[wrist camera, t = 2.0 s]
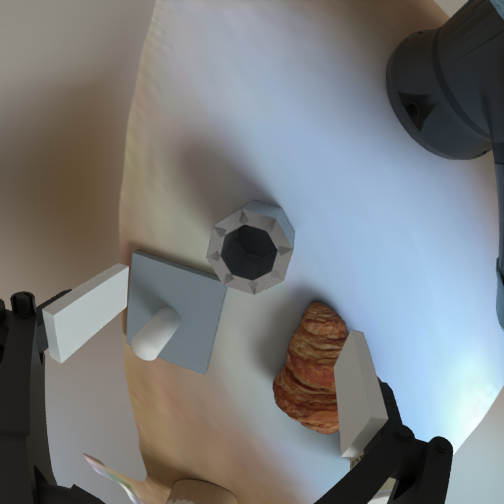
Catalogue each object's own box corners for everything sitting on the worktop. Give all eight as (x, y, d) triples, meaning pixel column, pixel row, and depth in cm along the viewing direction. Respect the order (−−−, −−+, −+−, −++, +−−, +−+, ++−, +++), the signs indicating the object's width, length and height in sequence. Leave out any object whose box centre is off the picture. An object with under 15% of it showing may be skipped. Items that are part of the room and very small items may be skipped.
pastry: (237, 370, 37) (224, 411, 30) (317, 292, 33) (321, 328, 25) (325, 425, 38) (326, 465, 31) (405, 364, 34) (421, 404, 26)
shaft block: (137, 249, 35) (98, 271, 27) (229, 279, 34) (208, 312, 26) (130, 339, 39) (100, 371, 31) (207, 369, 38) (188, 409, 30)
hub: (236, 194, 31) (218, 202, 24) (300, 213, 30) (300, 225, 24) (221, 255, 33) (201, 278, 26) (281, 274, 32) (276, 301, 26)
